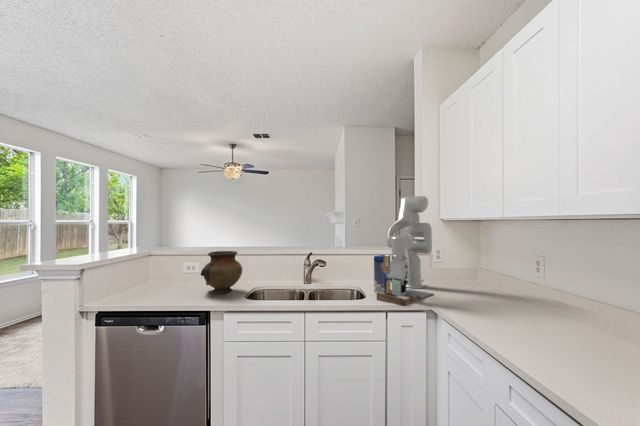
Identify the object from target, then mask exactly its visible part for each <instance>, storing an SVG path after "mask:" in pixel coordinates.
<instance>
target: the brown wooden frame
mask: <svg viewBox="0 0 640 426" xmlns="http://www.w3.org/2000/svg"><path fill="white" fill-rule="evenodd" d="M376 300H377V301H381V302H384V303H389V304H393V305H397V306H405V305H407V304H410V303H414V302H417V301H419V300H422V299H421V295H420V294H419V295H416V296H413V297H409V296H408V297H406V298H402V297H400V296H395V295H392V290H390V291H388V292H387V293H376Z"/></svg>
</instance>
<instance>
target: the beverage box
mask: <svg viewBox="0 0 640 426" xmlns="http://www.w3.org/2000/svg"><path fill="white" fill-rule="evenodd" d="M390 263H391V255H390V254H378V255H374V256H373V275H374V277H373V289H374V290H373V292H374V293H376V294H377V293H380V294H383V293H387V292H391V281H390V279H389V278H388V277H387V276H388V274H389V273H390Z"/></svg>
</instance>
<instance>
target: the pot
mask: <svg viewBox="0 0 640 426" xmlns="http://www.w3.org/2000/svg"><path fill="white" fill-rule="evenodd" d="M237 254H238V251H235V250H216V251H210V252H208V253H207V256H209V257H210V261H209V262H208V263H206V264H205V266H204V267H203V268H202V270H201V271H200V276H201V277H203V278H204V280H205V285H206V286H210V287H211V288H213V289H211V293H212V294H213V293H214V294H215V295H222V294H223V293H224V294H229V293H232V292H233V288H231V287H234V285H235V284H237V283H238V282H239V280H240V279H241V276H242V275H243V266H242V264H241V263H240V262H239V261H238V260H236V255H237Z"/></svg>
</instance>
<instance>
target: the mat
mask: <svg viewBox="0 0 640 426" xmlns="http://www.w3.org/2000/svg"><path fill="white" fill-rule="evenodd" d="M419 294H420V295H421V299H420V300H423V299H425V298H428V297H432V296H434V295H435V294H434V293H432V292H427V291H421V290H415V289H412V288H408V289H406V295H403V296H405V297H408V298H409V297H413V296H416V295H419Z"/></svg>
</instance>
